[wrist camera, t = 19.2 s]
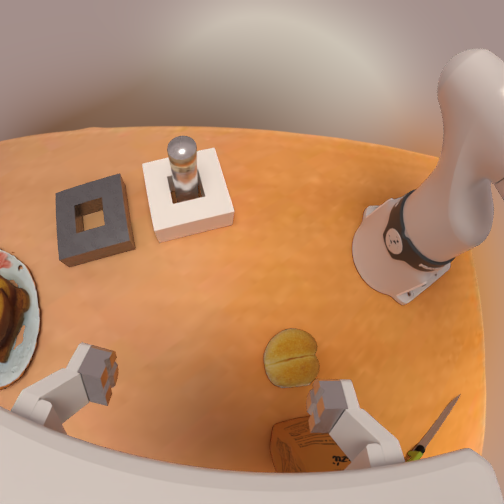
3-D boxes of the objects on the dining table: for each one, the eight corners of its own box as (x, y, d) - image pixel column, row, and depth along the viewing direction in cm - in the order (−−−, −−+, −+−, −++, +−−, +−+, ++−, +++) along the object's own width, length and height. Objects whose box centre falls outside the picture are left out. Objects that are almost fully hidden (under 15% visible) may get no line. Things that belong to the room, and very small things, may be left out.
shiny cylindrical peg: (196, 189, 52) (193, 133, 38) (201, 208, 51) (199, 155, 37) (174, 194, 52) (165, 139, 37) (179, 213, 51) (169, 161, 36)
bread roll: (312, 326, 48) (320, 324, 44) (318, 382, 45) (327, 384, 41) (259, 332, 47) (264, 330, 43) (265, 390, 44) (270, 393, 40)
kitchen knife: (449, 392, 48) (459, 392, 45) (452, 396, 47) (462, 395, 45) (379, 484, 39) (388, 488, 37) (382, 487, 39) (392, 492, 36)
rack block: (213, 164, 54) (214, 147, 50) (232, 224, 51) (234, 211, 46) (147, 179, 52) (142, 163, 47) (159, 242, 49) (154, 231, 44)
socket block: (125, 185, 51) (120, 173, 47) (135, 249, 48) (129, 240, 44) (64, 203, 48) (55, 193, 45) (69, 267, 45) (59, 260, 42)
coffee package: (342, 465, 41) (418, 516, 20) (267, 473, 39) (307, 545, 19) (346, 410, 44) (431, 437, 23) (269, 415, 42) (315, 461, 22)
